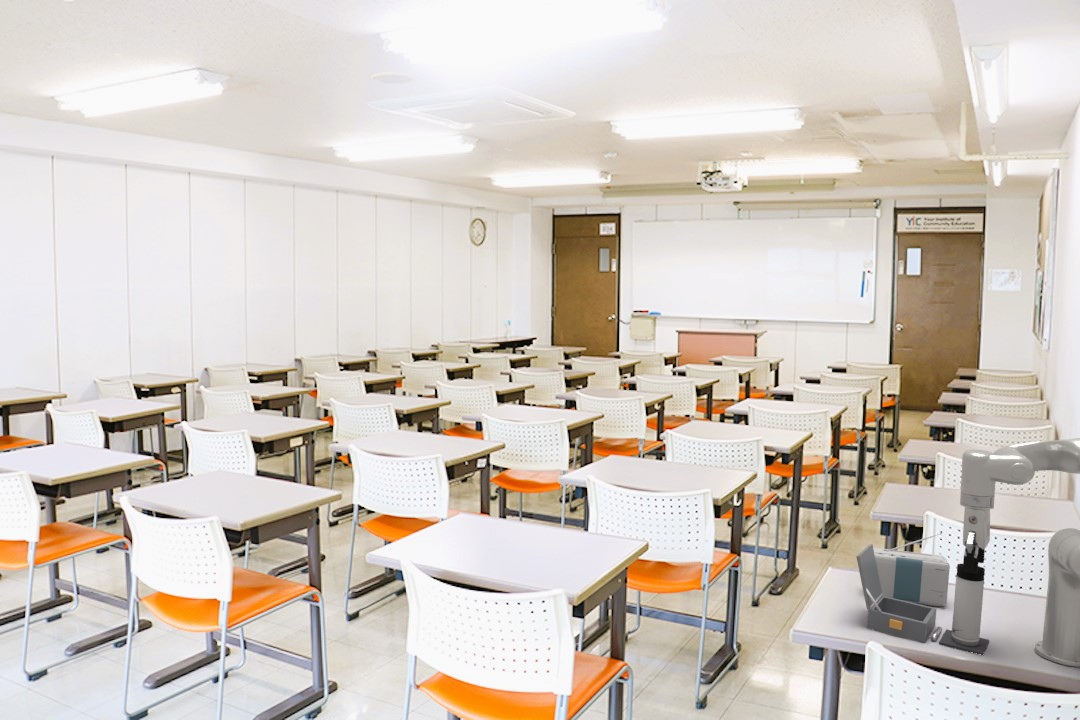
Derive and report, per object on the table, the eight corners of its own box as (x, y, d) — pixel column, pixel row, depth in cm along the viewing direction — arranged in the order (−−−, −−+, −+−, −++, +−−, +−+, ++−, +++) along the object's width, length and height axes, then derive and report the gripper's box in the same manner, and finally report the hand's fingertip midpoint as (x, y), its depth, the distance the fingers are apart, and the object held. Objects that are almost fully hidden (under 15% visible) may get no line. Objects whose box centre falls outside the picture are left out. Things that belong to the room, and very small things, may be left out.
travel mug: (950, 643, 212) (956, 565, 210) (952, 634, 217) (958, 558, 216) (978, 649, 209) (984, 570, 207) (979, 639, 214) (985, 563, 213)
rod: (942, 631, 221) (942, 626, 221) (935, 642, 214) (936, 637, 214) (937, 629, 221) (937, 625, 221) (930, 640, 214) (930, 636, 214)
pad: (989, 642, 215) (989, 639, 215) (983, 655, 207) (983, 653, 207) (946, 631, 221) (946, 629, 220) (938, 644, 212) (938, 642, 212)
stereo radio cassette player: (866, 599, 242) (871, 531, 240) (864, 589, 249) (869, 523, 247) (946, 610, 236) (952, 540, 234) (941, 599, 243) (947, 531, 241)
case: (935, 626, 224) (940, 558, 222) (924, 643, 212) (929, 571, 211) (864, 609, 234) (869, 543, 232) (850, 624, 223) (855, 556, 221)
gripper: (988, 510, 201) (985, 580, 202) (999, 495, 215) (995, 560, 216) (954, 505, 205) (950, 573, 207) (966, 491, 219) (963, 555, 221)
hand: (973, 567), depth 211 cm, fingers open, 9 cm apart
